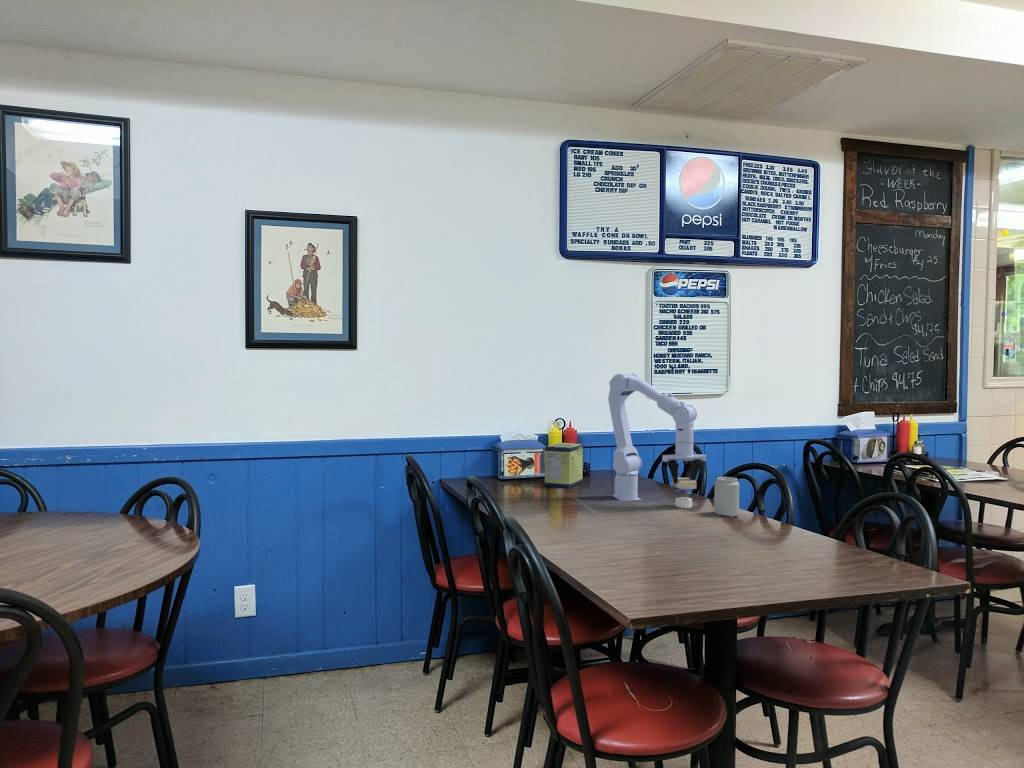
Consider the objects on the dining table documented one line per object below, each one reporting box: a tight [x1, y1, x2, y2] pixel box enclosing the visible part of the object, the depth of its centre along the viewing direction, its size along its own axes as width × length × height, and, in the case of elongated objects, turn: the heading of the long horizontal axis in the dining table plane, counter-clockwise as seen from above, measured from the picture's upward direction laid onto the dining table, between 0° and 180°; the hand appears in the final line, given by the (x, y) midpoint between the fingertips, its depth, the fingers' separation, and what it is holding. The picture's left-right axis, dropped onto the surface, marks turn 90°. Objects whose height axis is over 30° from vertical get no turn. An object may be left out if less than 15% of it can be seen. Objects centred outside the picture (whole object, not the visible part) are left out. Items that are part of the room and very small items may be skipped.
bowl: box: [675, 496, 693, 509], centre depth 249 cm, size 5×5×3 cm
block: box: [671, 477, 697, 490], centre depth 249 cm, size 8×6×2 cm
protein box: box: [544, 442, 584, 489], centre depth 294 cm, size 10×16×16 cm
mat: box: [630, 501, 668, 511], centre depth 250 cm, size 12×9×1 cm
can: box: [713, 476, 740, 518], centre depth 238 cm, size 8×8×12 cm
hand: (683, 482), depth 249 cm, fingers closed on block, 5 cm apart
